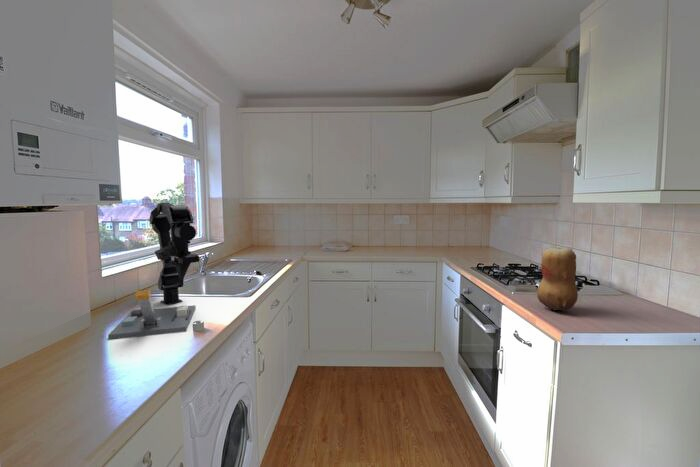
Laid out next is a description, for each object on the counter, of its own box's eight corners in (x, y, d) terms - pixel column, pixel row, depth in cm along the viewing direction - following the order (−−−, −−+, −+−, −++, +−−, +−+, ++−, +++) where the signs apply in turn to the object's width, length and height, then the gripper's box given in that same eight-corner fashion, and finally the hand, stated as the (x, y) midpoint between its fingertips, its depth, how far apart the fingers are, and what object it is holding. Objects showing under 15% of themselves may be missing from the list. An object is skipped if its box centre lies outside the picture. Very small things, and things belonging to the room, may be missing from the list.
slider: (177, 315, 123) (177, 308, 122) (187, 314, 123) (186, 307, 123) (176, 317, 121) (176, 310, 120) (186, 316, 122) (185, 309, 121)
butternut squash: (529, 305, 139) (533, 245, 137) (562, 304, 139) (565, 244, 137) (550, 316, 125) (554, 250, 123) (586, 316, 126) (590, 249, 123)
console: (132, 314, 128) (131, 304, 127) (195, 308, 134) (195, 299, 134) (108, 339, 105) (107, 327, 105) (186, 331, 112) (185, 319, 111)
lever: (146, 322, 113) (136, 291, 103) (158, 321, 114) (150, 290, 104) (144, 327, 111) (134, 296, 102) (157, 326, 112) (148, 294, 103)
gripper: (147, 238, 129) (149, 278, 130) (167, 242, 117) (169, 286, 118) (177, 236, 137) (179, 273, 139) (199, 239, 125) (201, 280, 127)
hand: (181, 278), depth 130 cm, fingers closed
